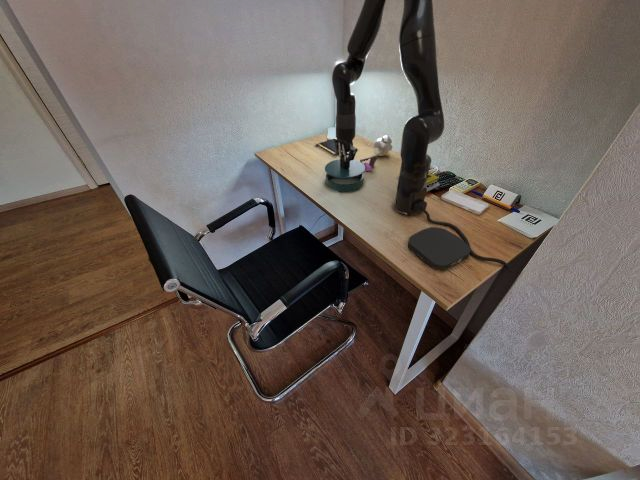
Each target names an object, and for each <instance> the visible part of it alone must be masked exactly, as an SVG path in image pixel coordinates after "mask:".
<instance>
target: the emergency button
mask: <svg viewBox="0 0 640 480" xmlns="http://www.w3.org/2000/svg"><path fill="white" fill-rule="evenodd" d="M438 180H439V177H438V176H437V175H435V174H433V173H431V172H429V173H428V177H427V181H426V185H425V188H426V189H427V191H426V193H428V192H431V191H432V190H434V189H435V188H438V187H440V185H441V184H440V182H438ZM435 182H437V183H435ZM432 183H435V184H433V187H431V186H429V187H427V185H429V184H432Z"/></svg>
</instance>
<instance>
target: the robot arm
mask: <svg viewBox="0 0 640 480" xmlns="http://www.w3.org/2000/svg"><path fill="white" fill-rule="evenodd" d="M386 1H387V0H364V1H363V4H362V7H361V9H360V13H359V16H358V18H357V20H356V23H355V25H354V28H353V30H352V33H351V35H350V38H349V39H348V43H347V45H346V51H347V54H348V57H347V59H346V60H345V61H342V62H339V63H337V64H336V65H335V66H334V68H333V70H332V74H331V82H332V88H333V92H334V97H335V103H336V104H335V105H336V106H335V107H336V108H335V109H336V113H335V138H337V140H334V142H335V147H336V151H337V155H338V157H339V159H340V166H341V167H342V157H343V156H344V159H345V161H344V169H349V168H350V161H351V160H355V157H356V155H357V152H358V148H357V147H355V146H354V143H353V142H354V141H353V140H354V139H355V137H356V128H357V127H356V125H357V115H356V114H357V113H356V109H357V107H356V106H357V98H356V95H355V94H354V93H352V91H351V86H352V85H354V84H356V83H357V82H358V81H359V79H360V78H361V76H362V74H363V72H364V68H365V65H366V61H367V58H368V55H369V53H370V52H371V50H372V47H373V45H374V43H375V41H376V39H377V37H378V34H379V31H380V29H381V25H382V22H383V21H382V20H383V16H384V15H383V14H384V10H385V5H386ZM434 16H435V15H434V4H433V0H403V10H402V16H401V21H400V27H399V33H398V48H399V59H400V65H401V69H402V72H403V74H404V77H405V78H406V81H407V82H408V84H409V85H410V87H411V88H412V90H413V93H414V96H415V100H416V107H417V115H414V116H412V117H409V118H408V120H406V122H405V124H404V126H403V130H402V134H401V135H402V136H401V145H400V160H401V162H400V169H399V175H398V180H397V181H398V182H397V186H396V193H395V197H394V199H393V201H394V204H393V209H394V210H395V211H396V212H397V213H399V214H401V215H406V216H408V217H411V216H414V215H416V214H419V213H421V212H422V213H424V214H425V216H426V219H427V221H428V222H429V223H431V224H434V225H440V226H446V227H450V228H452V229H453V230H454V231H456V233H457V234H458V235H459V236H460V238H461V239H462V240H463V241H464V242H465V243H466V244H467V245H468V246H469V248H470V253H469V255H471V256H472V257H473V258H476V259H478V260H481V261H486V262H494V263H499V264H501V265H503V267H504V268H506V270H508V271H510V270H512V268H511V266H510V265H509V264H508V263H507V262H506V261H504V260H503V259H501V258H495V257H488V256H481V255H479V254H477V253H475V252H474V251H473V250H472V247H471V245H470V242H469V240H468V238H467V236H466V235H465V234H464V233H463V232H462V230H461V229H460V228H459V227H457V226H456V225H454V224H453V223H451V222H447V221H446V222H444V221H437V220H433V219H432V218H431V217H430V216H431V215H430V214H429V212H428V211H427V210H426V209H427V206H428V202H427V201H426V200H425V199H426V195H427V192H426V191H427V189H426V188H425V185H426V181H427V177H428V173H430V168H431V164H432V157H431V156H430V155H429V154H427V152H428V148H429V145H431V144H433V143H434V142H436V141H438V140H439V139H440V138H441V137H442V135H443V133H444V130H445V115H444V111H443V105H442V100H441V94H440V93H441V92H440V85H439V83H440V82H439V71H438V60H437V42H436V27H435V18H434ZM354 147H355V149H354ZM338 148H339V149H338ZM346 152H347V153H346ZM347 157H348V158H347ZM469 346H470V345H469V344H468V343H466V344H465V345H464V347H463V350H465V351H466V350H467V349H468V348H469ZM467 347H468V348H467Z"/></svg>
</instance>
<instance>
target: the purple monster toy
mask: <svg viewBox="0 0 640 480" xmlns="http://www.w3.org/2000/svg"><path fill="white" fill-rule="evenodd" d="M377 158H378V155H373V156H369V157H366V158H362V159H360V160H359V162H361V163H363V162H364V163H363V164H364V166H365V171H367V172H373V170H372V167H374V166H375V164H376V161H377ZM368 160H369V162H365V161H368Z"/></svg>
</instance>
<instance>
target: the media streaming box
mask: <svg viewBox="0 0 640 480" xmlns="http://www.w3.org/2000/svg"><path fill="white" fill-rule="evenodd" d="M407 247H408V249H409V251H411V252H412V253H413V254H414V255H415V256H417V257H418V258H419V259H420V260H421V261H423V263H425V264H426V265H427V266H428V267H430V268H432V269H435V270H439V271H443V270H444V271H445V270H447V269H450V268H453V267H454V266H455V265H457V264H459V263H461V262H464V261H465V260H466V259H467V258H468V257H469V255H470V248H471V247H470V248H469V246H468V245H467V244H466V243H465V241H464V240H463V238H461V237H459V236H458V235H456V234H455V233H453V232H451V231H449V230H447V229H446V228H442V227H438V226H431V227H427V228H424V229H422V230H420V231H418V232H416V233H414V234H413V235H411V236H410V237H409V239H408V243H407Z"/></svg>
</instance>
